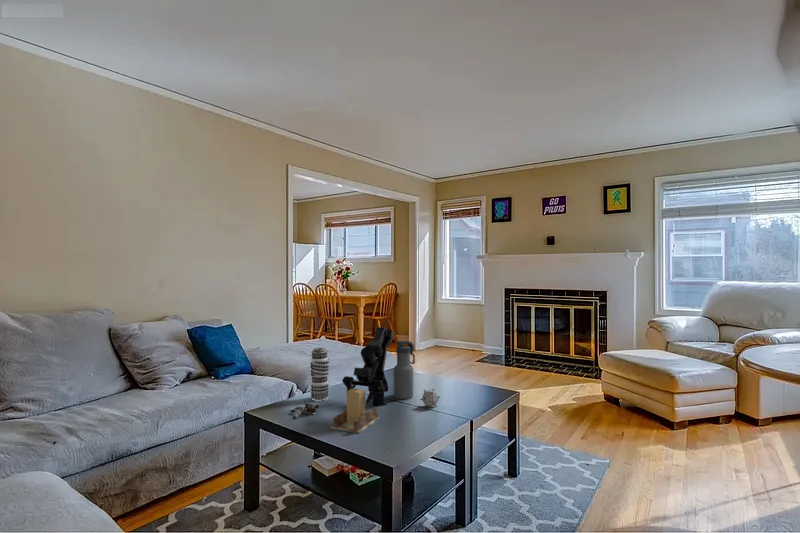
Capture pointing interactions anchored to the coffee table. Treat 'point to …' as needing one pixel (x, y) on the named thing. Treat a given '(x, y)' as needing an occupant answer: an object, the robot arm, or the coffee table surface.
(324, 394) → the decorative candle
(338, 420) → the brown open-ended tray
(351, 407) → the pillar
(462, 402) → the coffee table surface
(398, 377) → the water bottle
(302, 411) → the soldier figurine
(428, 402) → the game die
